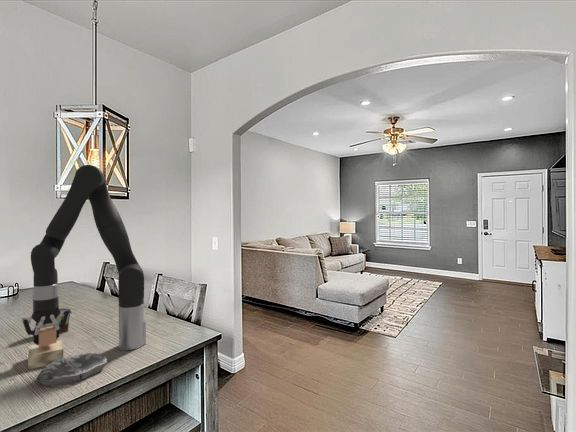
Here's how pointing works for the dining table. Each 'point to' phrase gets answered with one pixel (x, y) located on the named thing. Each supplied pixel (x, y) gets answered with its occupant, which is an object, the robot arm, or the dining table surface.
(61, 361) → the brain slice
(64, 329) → the food container
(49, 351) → the birch block
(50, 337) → the terracotta cube
